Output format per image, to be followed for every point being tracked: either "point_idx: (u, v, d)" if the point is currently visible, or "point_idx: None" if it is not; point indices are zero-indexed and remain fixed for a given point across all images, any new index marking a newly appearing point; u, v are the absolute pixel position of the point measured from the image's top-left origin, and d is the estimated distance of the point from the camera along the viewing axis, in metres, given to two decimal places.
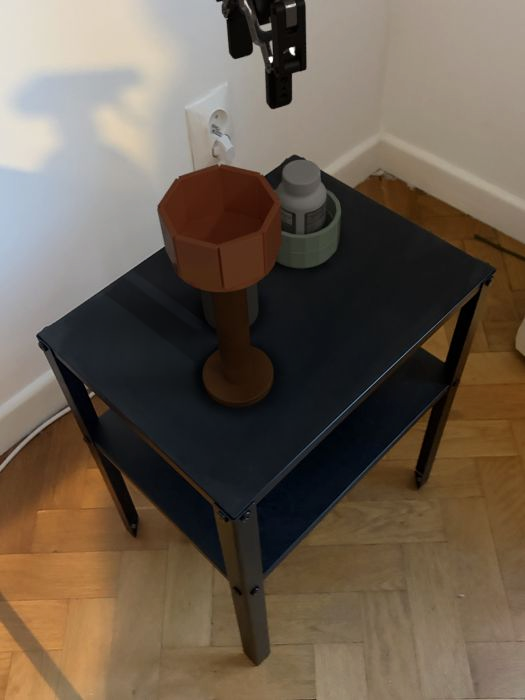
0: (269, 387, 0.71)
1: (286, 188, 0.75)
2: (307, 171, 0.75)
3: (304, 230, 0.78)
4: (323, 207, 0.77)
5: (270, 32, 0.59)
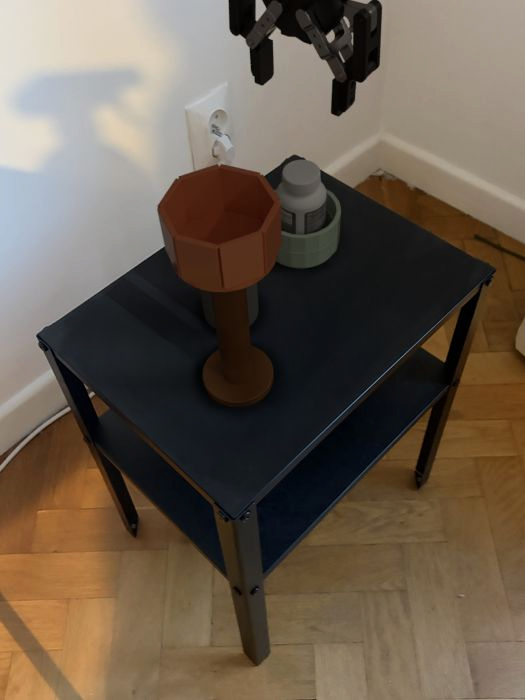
0: (269, 387, 0.71)
1: (286, 188, 0.75)
2: (307, 171, 0.75)
3: (304, 230, 0.78)
4: (323, 207, 0.77)
5: (336, 43, 0.61)
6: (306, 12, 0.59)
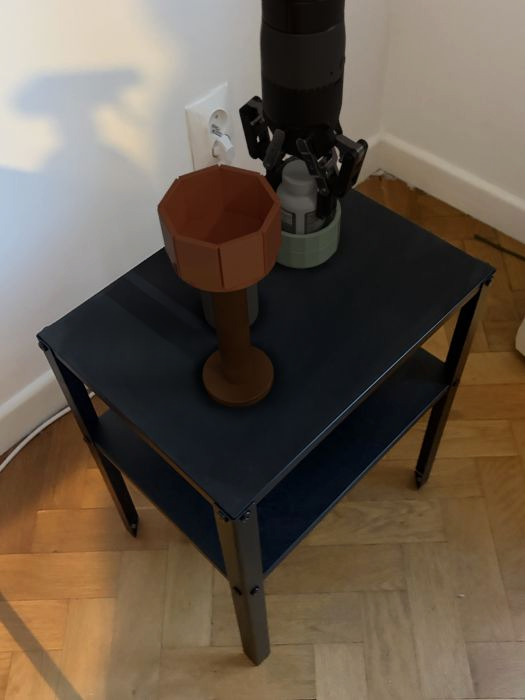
0: (269, 387, 0.71)
1: (286, 188, 0.75)
2: (307, 171, 0.75)
3: (304, 230, 0.78)
4: None
5: (325, 166, 0.72)
6: (306, 142, 0.69)
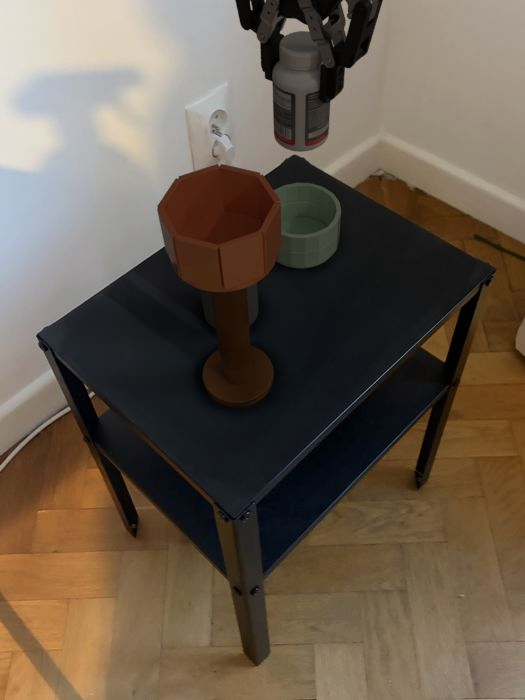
0: (269, 387, 0.71)
1: (284, 63, 0.64)
2: (309, 42, 0.63)
3: (305, 117, 0.66)
4: None
5: (331, 29, 0.60)
6: None
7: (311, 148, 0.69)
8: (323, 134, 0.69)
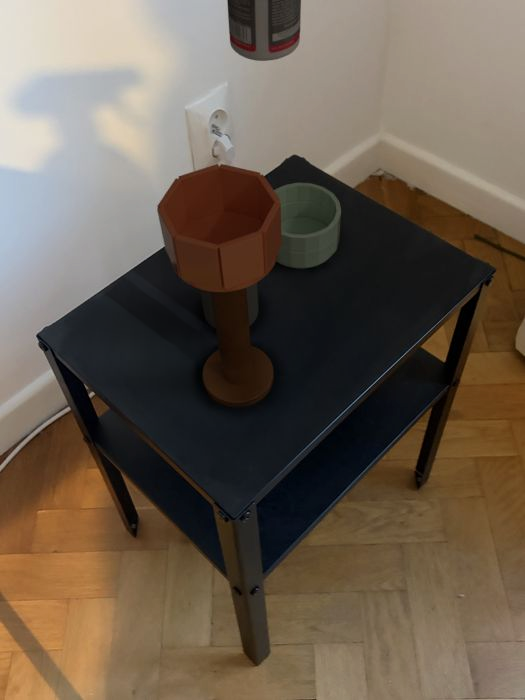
0: (269, 387, 0.71)
1: None
2: None
3: (268, 10, 0.51)
4: None
5: None
6: None
7: (277, 56, 0.54)
8: (292, 38, 0.54)
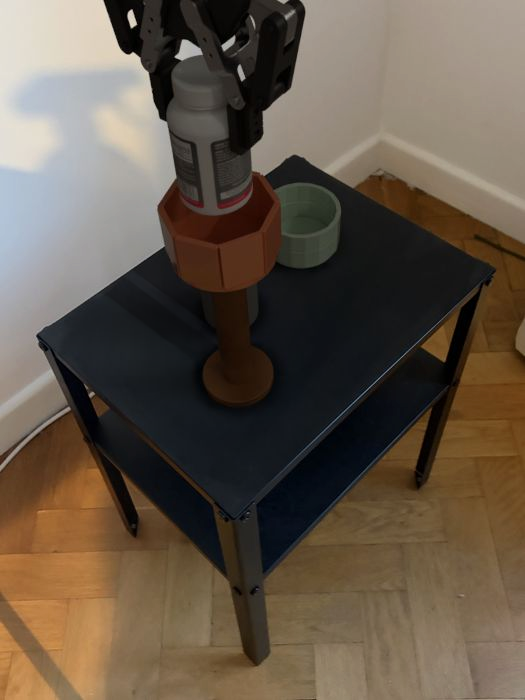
0: (269, 387, 0.71)
1: (178, 100, 0.45)
2: None
3: (213, 173, 0.48)
4: None
5: (236, 55, 0.42)
6: (196, 5, 0.39)
7: (227, 211, 0.51)
8: (243, 193, 0.51)
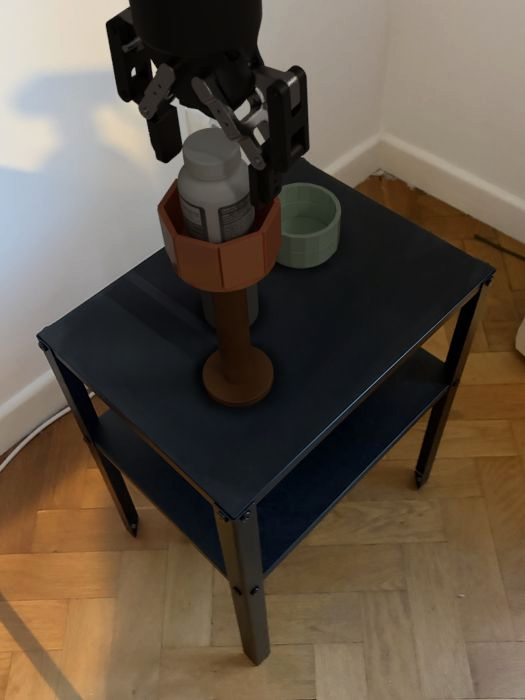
0: (269, 387, 0.71)
1: (188, 170, 0.50)
2: (219, 144, 0.49)
3: (220, 233, 0.53)
4: (247, 199, 0.52)
5: (250, 120, 0.45)
6: (204, 81, 0.43)
7: None
8: None
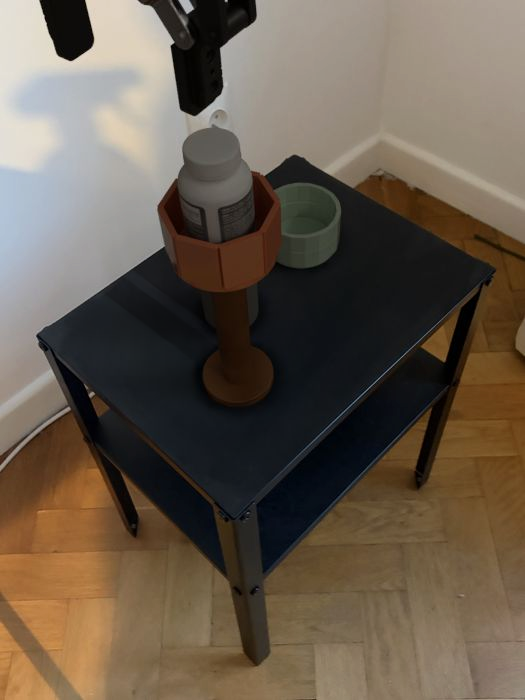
0: (269, 387, 0.71)
1: (188, 170, 0.50)
2: (219, 144, 0.49)
3: (220, 233, 0.53)
4: (247, 199, 0.52)
5: None
6: None
7: None
8: None
